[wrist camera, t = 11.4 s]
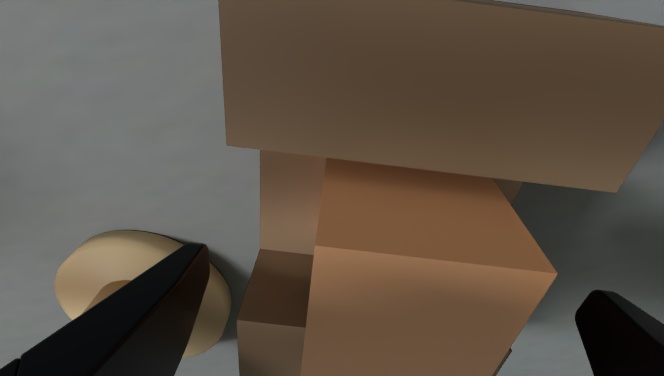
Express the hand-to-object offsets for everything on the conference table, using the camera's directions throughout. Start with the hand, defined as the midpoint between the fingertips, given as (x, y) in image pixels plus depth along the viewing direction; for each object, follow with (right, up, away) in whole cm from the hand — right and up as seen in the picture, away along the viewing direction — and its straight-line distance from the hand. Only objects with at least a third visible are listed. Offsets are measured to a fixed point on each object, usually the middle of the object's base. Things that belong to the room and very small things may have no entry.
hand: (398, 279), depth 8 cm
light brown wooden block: (0, +2, +3) cm, 3 cm away
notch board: (0, +2, +4) cm, 4 cm away
